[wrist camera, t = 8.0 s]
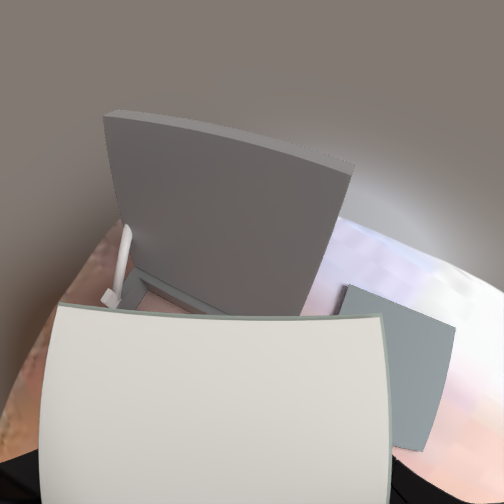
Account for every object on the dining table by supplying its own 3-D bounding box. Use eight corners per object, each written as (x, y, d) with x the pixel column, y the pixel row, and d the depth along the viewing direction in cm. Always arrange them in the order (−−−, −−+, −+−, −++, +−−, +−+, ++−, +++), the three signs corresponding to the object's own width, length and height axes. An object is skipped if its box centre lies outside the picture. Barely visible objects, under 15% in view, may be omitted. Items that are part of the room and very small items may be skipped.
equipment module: (290, 476, 11) (372, 601, 1) (191, 472, 11) (50, 560, 1) (291, 387, 14) (384, 310, 4) (195, 384, 14) (55, 299, 4)
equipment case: (207, 491, 15) (129, 592, 2) (68, 395, 19) (-70, 345, 6) (306, 301, 24) (357, 159, 11) (165, 240, 27) (110, 105, 14)
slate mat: (419, 451, 16) (422, 451, 15) (295, 415, 19) (296, 415, 18) (452, 329, 21) (455, 327, 21) (347, 286, 24) (349, 284, 24)
